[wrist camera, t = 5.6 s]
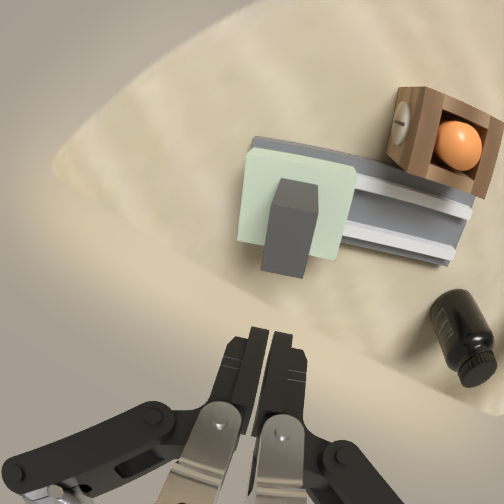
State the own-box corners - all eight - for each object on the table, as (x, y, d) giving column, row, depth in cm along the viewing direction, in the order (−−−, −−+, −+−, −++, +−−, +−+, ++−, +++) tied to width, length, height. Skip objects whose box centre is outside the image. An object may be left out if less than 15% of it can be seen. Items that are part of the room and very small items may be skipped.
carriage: (353, 166, 25) (370, 201, 17) (333, 244, 29) (337, 303, 21) (253, 147, 26) (226, 173, 18) (244, 226, 30) (217, 278, 22)
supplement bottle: (443, 332, 36) (463, 399, 26) (420, 309, 35) (442, 381, 24) (479, 304, 32) (510, 368, 22) (460, 277, 31) (495, 345, 21)
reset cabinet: (466, 113, 22) (504, 123, 16) (451, 174, 26) (484, 199, 19) (393, 85, 23) (419, 84, 17) (380, 151, 27) (400, 170, 20)
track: (470, 190, 26) (480, 199, 24) (443, 260, 30) (450, 272, 28) (255, 136, 28) (250, 140, 26) (245, 217, 33) (240, 227, 31)
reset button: (464, 125, 20) (486, 132, 16) (455, 164, 22) (474, 176, 18) (429, 111, 20) (448, 115, 17) (420, 151, 22) (437, 162, 19)
